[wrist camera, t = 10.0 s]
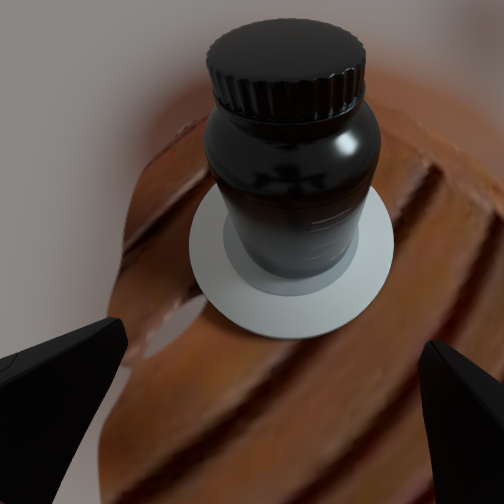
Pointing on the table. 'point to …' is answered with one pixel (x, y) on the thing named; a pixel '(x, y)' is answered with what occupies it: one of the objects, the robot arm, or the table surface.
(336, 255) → the supplement bottle
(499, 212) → the table surface
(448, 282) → the table surface
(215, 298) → the saucer
